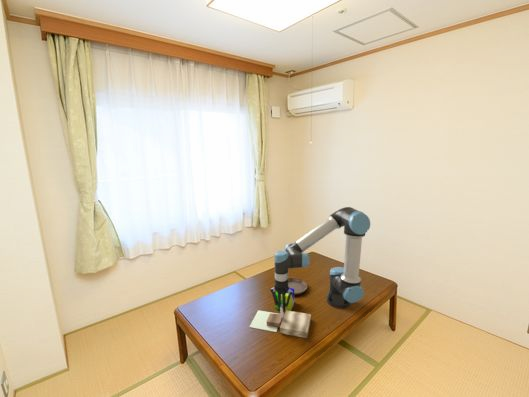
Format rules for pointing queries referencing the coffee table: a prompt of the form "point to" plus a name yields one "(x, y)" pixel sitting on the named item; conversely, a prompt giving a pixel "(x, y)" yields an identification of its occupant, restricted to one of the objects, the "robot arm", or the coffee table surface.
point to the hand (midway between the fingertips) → (282, 316)
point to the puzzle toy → (286, 300)
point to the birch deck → (295, 324)
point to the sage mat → (262, 321)
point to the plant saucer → (297, 285)
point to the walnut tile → (274, 320)
